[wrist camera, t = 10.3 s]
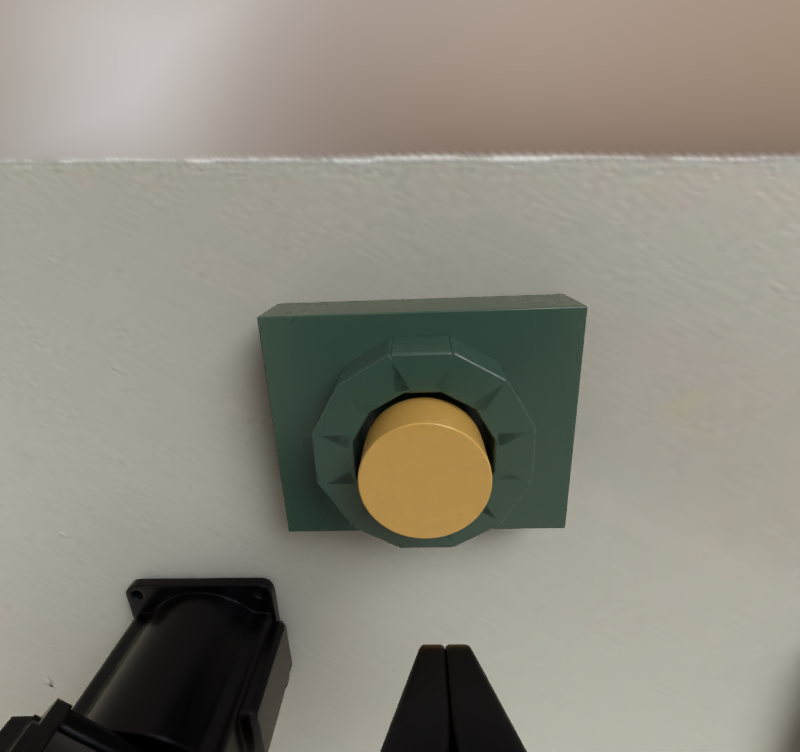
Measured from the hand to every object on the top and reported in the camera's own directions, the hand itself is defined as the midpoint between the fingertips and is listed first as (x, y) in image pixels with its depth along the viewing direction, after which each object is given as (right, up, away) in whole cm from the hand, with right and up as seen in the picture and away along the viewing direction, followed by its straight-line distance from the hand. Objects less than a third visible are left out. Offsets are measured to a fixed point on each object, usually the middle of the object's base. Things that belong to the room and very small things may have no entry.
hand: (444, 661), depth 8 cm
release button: (0, +3, +6) cm, 6 cm away
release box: (0, +4, +9) cm, 10 cm away
